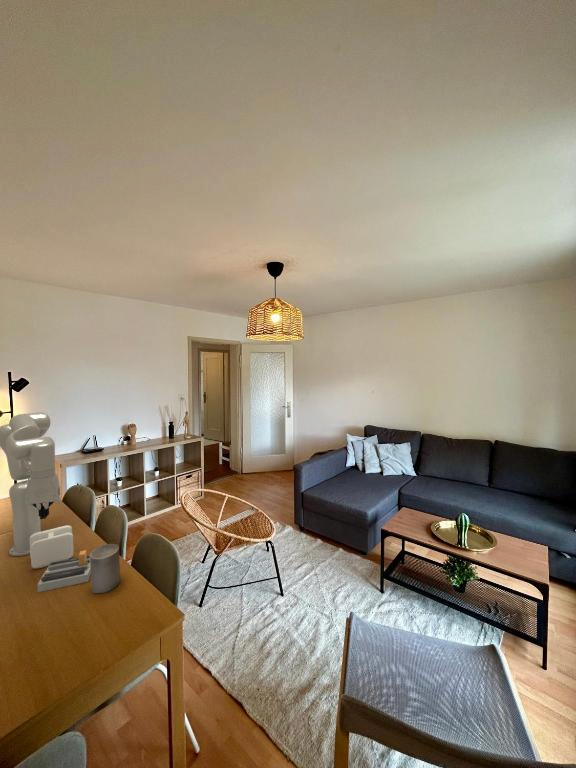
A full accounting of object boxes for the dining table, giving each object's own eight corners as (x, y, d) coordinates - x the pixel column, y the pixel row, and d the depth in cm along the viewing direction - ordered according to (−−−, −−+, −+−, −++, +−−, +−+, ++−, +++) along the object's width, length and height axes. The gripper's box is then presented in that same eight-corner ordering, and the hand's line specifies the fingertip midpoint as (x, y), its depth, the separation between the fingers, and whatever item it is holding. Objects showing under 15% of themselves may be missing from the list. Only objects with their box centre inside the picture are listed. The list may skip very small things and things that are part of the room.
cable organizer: (28, 572, 124) (27, 544, 124) (30, 559, 133) (29, 533, 132) (73, 558, 133) (72, 533, 133) (72, 547, 142) (72, 523, 141)
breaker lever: (79, 565, 124) (79, 551, 124) (88, 563, 125) (87, 549, 125) (77, 569, 122) (77, 555, 121) (86, 567, 123) (86, 553, 122)
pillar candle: (116, 572, 124) (114, 537, 124) (123, 585, 117) (122, 547, 117) (88, 584, 118) (86, 547, 117) (94, 598, 111) (92, 558, 110)
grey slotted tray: (49, 572, 124) (49, 561, 124) (94, 563, 130) (94, 552, 130) (37, 592, 113) (37, 580, 113) (88, 581, 119) (87, 570, 119)
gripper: (15, 478, 114) (16, 525, 116) (63, 474, 120) (63, 519, 121) (23, 471, 121) (24, 515, 122) (68, 467, 127) (69, 510, 128)
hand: (44, 517), depth 122 cm, fingers closed
